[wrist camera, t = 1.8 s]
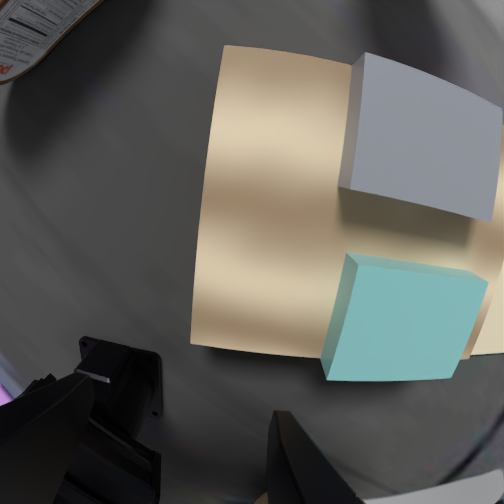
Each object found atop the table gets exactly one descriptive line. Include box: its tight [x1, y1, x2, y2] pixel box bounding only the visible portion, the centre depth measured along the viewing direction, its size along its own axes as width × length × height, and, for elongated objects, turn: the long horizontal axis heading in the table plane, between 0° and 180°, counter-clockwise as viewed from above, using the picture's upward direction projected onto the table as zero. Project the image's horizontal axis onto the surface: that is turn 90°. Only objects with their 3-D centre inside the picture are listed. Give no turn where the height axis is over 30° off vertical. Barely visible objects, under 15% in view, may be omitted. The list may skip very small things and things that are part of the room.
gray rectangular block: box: [337, 52, 503, 223], centre depth 12 cm, size 6×8×2 cm
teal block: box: [320, 252, 489, 381], centre depth 14 cm, size 6×8×2 cm
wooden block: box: [190, 45, 504, 359], centre depth 16 cm, size 15×18×4 cm
